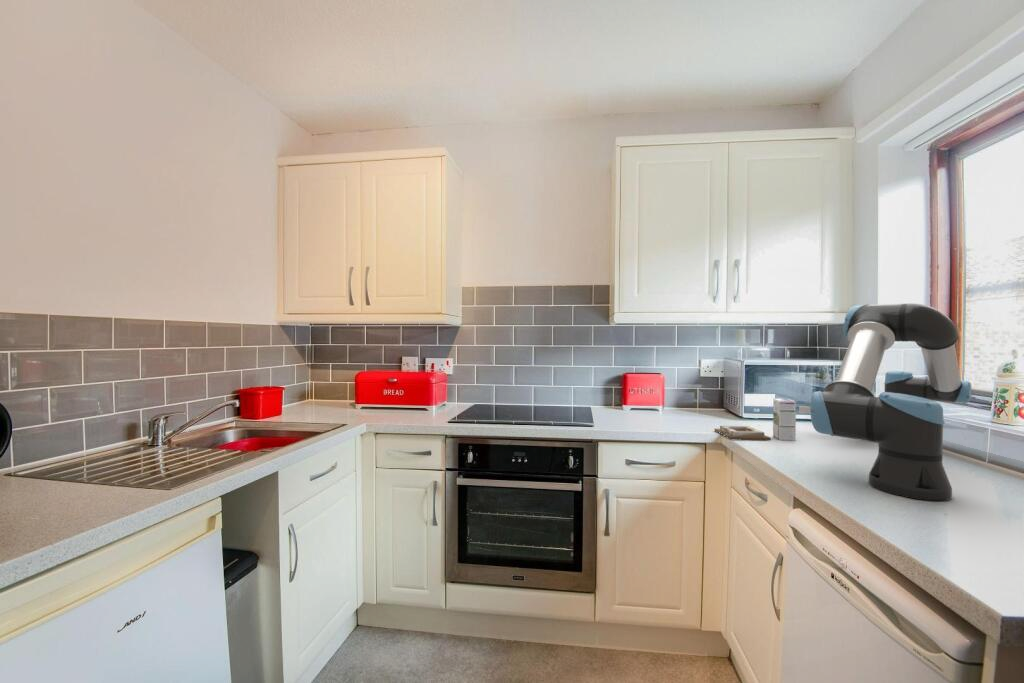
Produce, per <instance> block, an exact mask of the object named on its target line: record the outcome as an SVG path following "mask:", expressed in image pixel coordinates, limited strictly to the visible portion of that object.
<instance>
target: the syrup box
mask: <svg viewBox="0 0 1024 683" xmlns="http://www.w3.org/2000/svg"><path fill="white" fill-rule="evenodd" d="M796 405H797V403H796V400H792V399H790V398H782V397H781V398H779V397H778V398H773V407H772V409H773V410H772V411H773V412H772V413H773V414H772V416H773V417H772V419H773V421H772V422H773V423H772V425H773V426H772V431H773V432H772V435H773V438H775V439H777V440H779V441H789V440H795V441H796V437H797V436H796V435H797V434H796V432H797V430H796V429H797V428H796V425H797V424H796V420H797V419H796V418H797V415H796V414H797V413H796V410H797V409H796V408H797V406H796Z"/></svg>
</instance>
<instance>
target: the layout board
mask: <svg viewBox="0 0 1024 683" xmlns="http://www.w3.org/2000/svg"><path fill="white" fill-rule="evenodd" d="M714 430H715V431H717V432H720V433H722V434H723V435H725V436H726V437H725V436H724V437H725V438H727V437H728V438H727V439H729V440H731V441H733V440H732V439H741V440H740V441H767V440H771V441H772V438H771V437H770V436H767V435H766V434H765V432H764V431H761V430H759V429H756V428H754V427H751V426H750V425H720V426H719V428H714ZM715 431H714V432H715ZM717 432H716V433H717ZM723 435H722V436H723Z"/></svg>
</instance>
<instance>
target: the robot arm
mask: <svg viewBox="0 0 1024 683" xmlns="http://www.w3.org/2000/svg"><path fill="white" fill-rule="evenodd" d="M843 335H844V337H845V338H846V340H848V342H849V345H848V347H847V350H846V351H845V354H844V357H843V359H842V362H841V364H840V367H839V369H838V372H837V374H836V377H835V379H834V381H832V382H829V383H828V384H827V385H826V386H824V390H823V391H821V390H818V391H813V392H812V393H811V396H810V406H807V405H805V406H803V405H802V406H801V405H799V406H798V413H799V415H801V414H803V415H804V414H805V415H808V414H809V415H810V419H811V420H810V421H811V424H812V427H813V429H814V430H815V431H816V432H817V433H820V434H823V435H828V436H830V437H840V438H844V439H851V440H852V439H853V440H859V441H866V442H872V443H878V451H877V452H878V454H877V456H876V458H875V461H874V463H873V465H872V467H871V469H870V472H869V474H868V483H869V485H870V486H872V487H874V488H876V489H877V488H878V490H880V491H883V492H886V493H889V492H890V494H892V493H894V494H893V495H896V494H898V495H897V496H900V495H902V496H901V497H905V496H907V497H906V498H910V497H912V498H911V499H915V498H917V499H916V500H922V499H925V500H924V501H932V500H945V501H948V500H947V499H950V498H951V497H953V488H952V485H951V483H950V481H949V478H948V474H947V473H946V470H945V468H944V465H943V453H944V452H943V446H944V445H943V444H944V443H943V440H944V439H943V438H944V436H943V435H944V425H945V419H944V409H943V408H944V407H943V406H942V405H941V404H940V403H938V402H945V403H946V402H947V403H954V404H956V403H959V404H960V403H961V404H967V403H970V401H971V399H972V384H971V382H970V381H967V380H962V379H961V375H960V374H961V373H960V368H959V362H958V356H957V350H956V343H957V342H958V341H959V332H958V328H957V326H956V324H955V322H953V321H952V319H950V318H949V317H948V316H947V315H946V314H945V313H943V311H940V310H938V309H936V308H935V307H932V306H929V305H927V304H923V303H916V302H911V303H910V302H909V303H886V304H885V303H884V304H882V303H881V304H880V303H879V304H868V303H867V304H861V305H853V306H852V307H851V308H850V309H849V310H847V313H846V314H845V317H844V322H843ZM895 342H914V343H915V344H916V345H917V346H918V347H919V348H920V349H921V353H922V358H923V360H924V365H925V370H926V373H927V378H925V377H914V376H913V372H911V371H905V370H904V371H902V370H901V371H900V370H888V371H886V373H885V375H884V376H885V377H884V383H883V384H884V392H883V391H881V392H880V393H879V395H878V396H875V395H874V393H873V392H872V390H873V388H874V384H875V382H876V378H877V375H878V372H879V369H880V366H881V363H882V360H883V357H884V354H885V351H886V350H888V349H890V348H891V347H892V346H893V345H894V344H895ZM951 499H952V498H951ZM951 499H950V500H951Z"/></svg>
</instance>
